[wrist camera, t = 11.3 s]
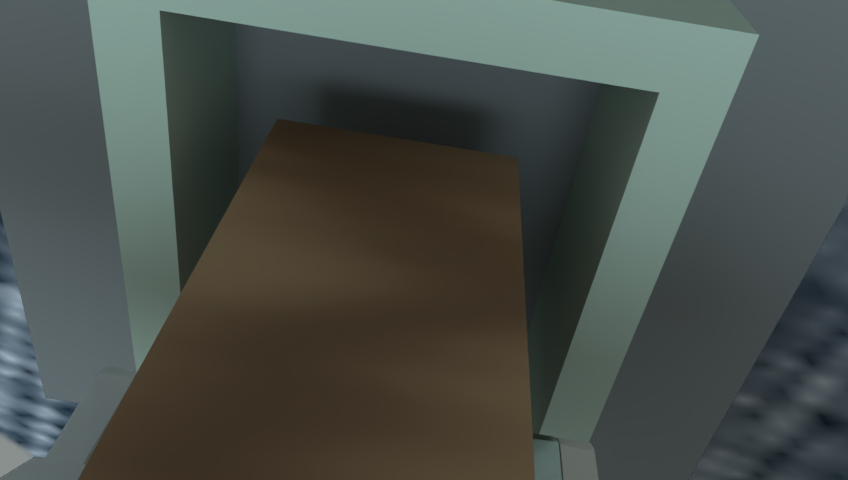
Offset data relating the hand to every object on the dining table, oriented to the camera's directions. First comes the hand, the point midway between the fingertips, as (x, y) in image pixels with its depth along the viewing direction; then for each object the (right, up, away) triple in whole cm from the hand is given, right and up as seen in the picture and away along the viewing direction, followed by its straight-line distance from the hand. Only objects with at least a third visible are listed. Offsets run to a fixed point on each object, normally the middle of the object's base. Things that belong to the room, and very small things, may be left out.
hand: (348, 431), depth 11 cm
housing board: (+1, +4, +6) cm, 8 cm away
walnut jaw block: (0, +2, +3) cm, 4 cm away
